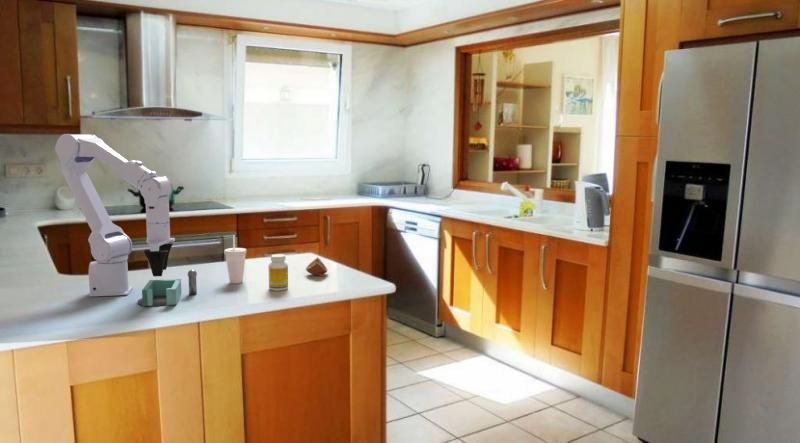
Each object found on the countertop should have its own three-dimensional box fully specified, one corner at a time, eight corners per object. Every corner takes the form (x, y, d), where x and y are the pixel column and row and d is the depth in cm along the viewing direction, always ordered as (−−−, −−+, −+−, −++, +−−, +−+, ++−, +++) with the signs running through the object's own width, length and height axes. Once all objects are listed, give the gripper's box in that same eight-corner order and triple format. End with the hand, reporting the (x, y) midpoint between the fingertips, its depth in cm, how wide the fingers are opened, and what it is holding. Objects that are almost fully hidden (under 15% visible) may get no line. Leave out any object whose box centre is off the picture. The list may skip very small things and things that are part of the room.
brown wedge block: (327, 278, 192) (327, 262, 191) (305, 278, 192) (304, 262, 191) (327, 272, 200) (327, 256, 200) (306, 272, 200) (306, 257, 199)
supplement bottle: (266, 287, 180) (265, 254, 179) (284, 285, 183) (284, 252, 181) (272, 291, 175) (271, 258, 174) (290, 289, 178) (290, 256, 177)
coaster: (134, 307, 159) (134, 305, 159) (141, 297, 168) (141, 295, 168) (176, 305, 161) (176, 303, 161) (180, 295, 171) (180, 293, 171)
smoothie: (238, 278, 191) (237, 232, 189) (251, 281, 187) (250, 235, 185) (220, 282, 186) (219, 235, 184) (233, 285, 182) (232, 237, 180)
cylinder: (187, 295, 171) (186, 271, 170) (188, 293, 173) (187, 269, 172) (197, 294, 171) (196, 270, 170) (197, 292, 174) (197, 268, 173)
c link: (142, 305, 159) (142, 290, 158) (150, 294, 169) (149, 280, 169) (176, 304, 160) (175, 289, 160) (181, 293, 171) (180, 279, 170)
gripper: (170, 226, 160) (171, 278, 162) (177, 218, 174) (179, 266, 176) (140, 226, 159) (142, 279, 161) (150, 218, 173) (152, 267, 175)
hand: (159, 272), depth 169 cm, fingers open, 7 cm apart
